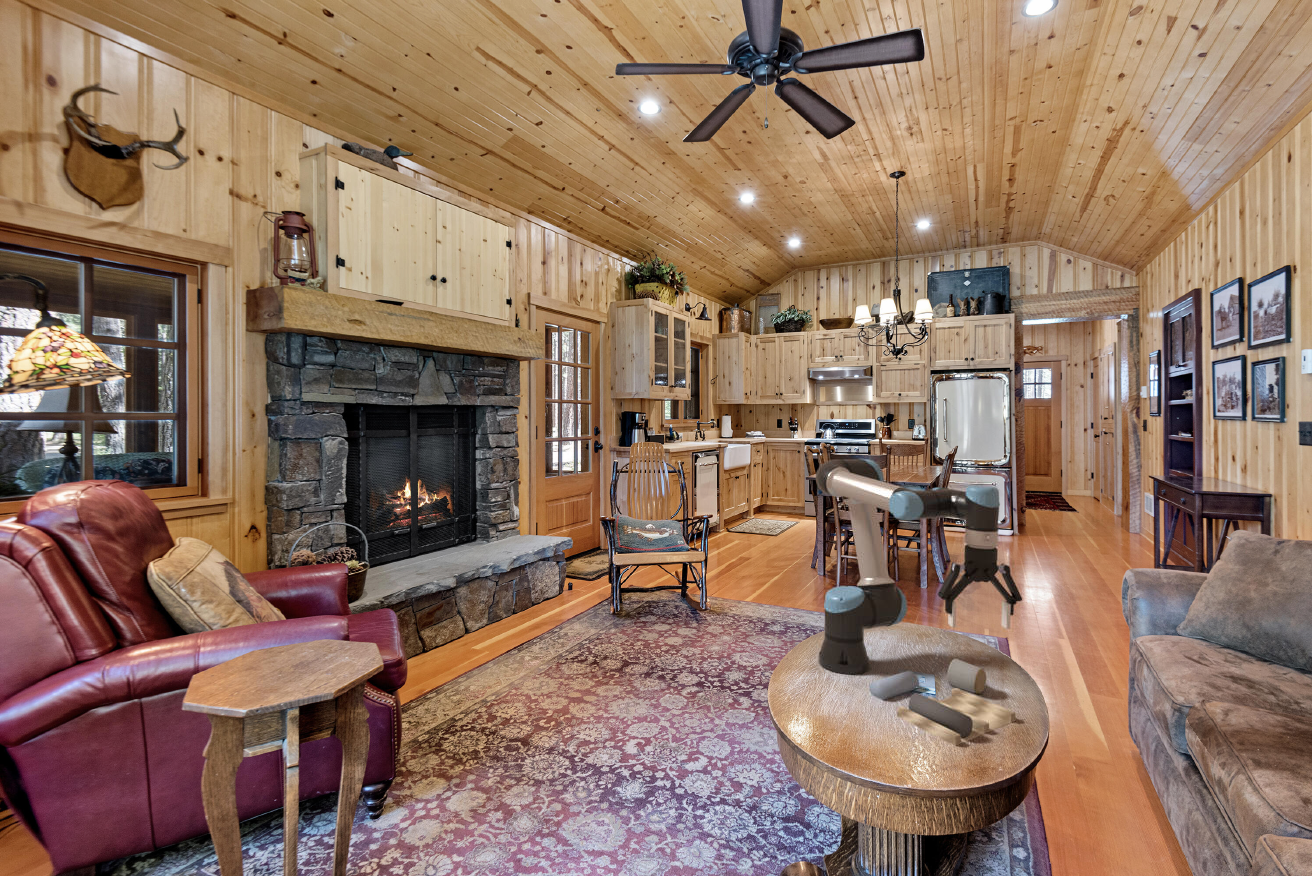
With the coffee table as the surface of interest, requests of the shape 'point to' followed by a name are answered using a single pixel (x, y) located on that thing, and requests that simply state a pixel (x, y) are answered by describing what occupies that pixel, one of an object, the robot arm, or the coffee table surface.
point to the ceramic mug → (966, 676)
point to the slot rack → (977, 708)
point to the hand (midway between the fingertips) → (978, 626)
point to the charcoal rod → (941, 714)
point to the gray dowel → (894, 685)
